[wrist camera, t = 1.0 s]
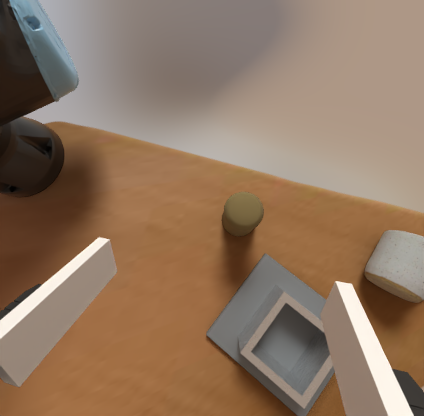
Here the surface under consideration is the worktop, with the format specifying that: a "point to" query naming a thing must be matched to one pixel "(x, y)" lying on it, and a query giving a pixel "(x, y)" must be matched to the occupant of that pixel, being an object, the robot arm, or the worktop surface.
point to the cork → (242, 213)
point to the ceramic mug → (398, 265)
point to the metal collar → (308, 362)
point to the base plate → (271, 325)
